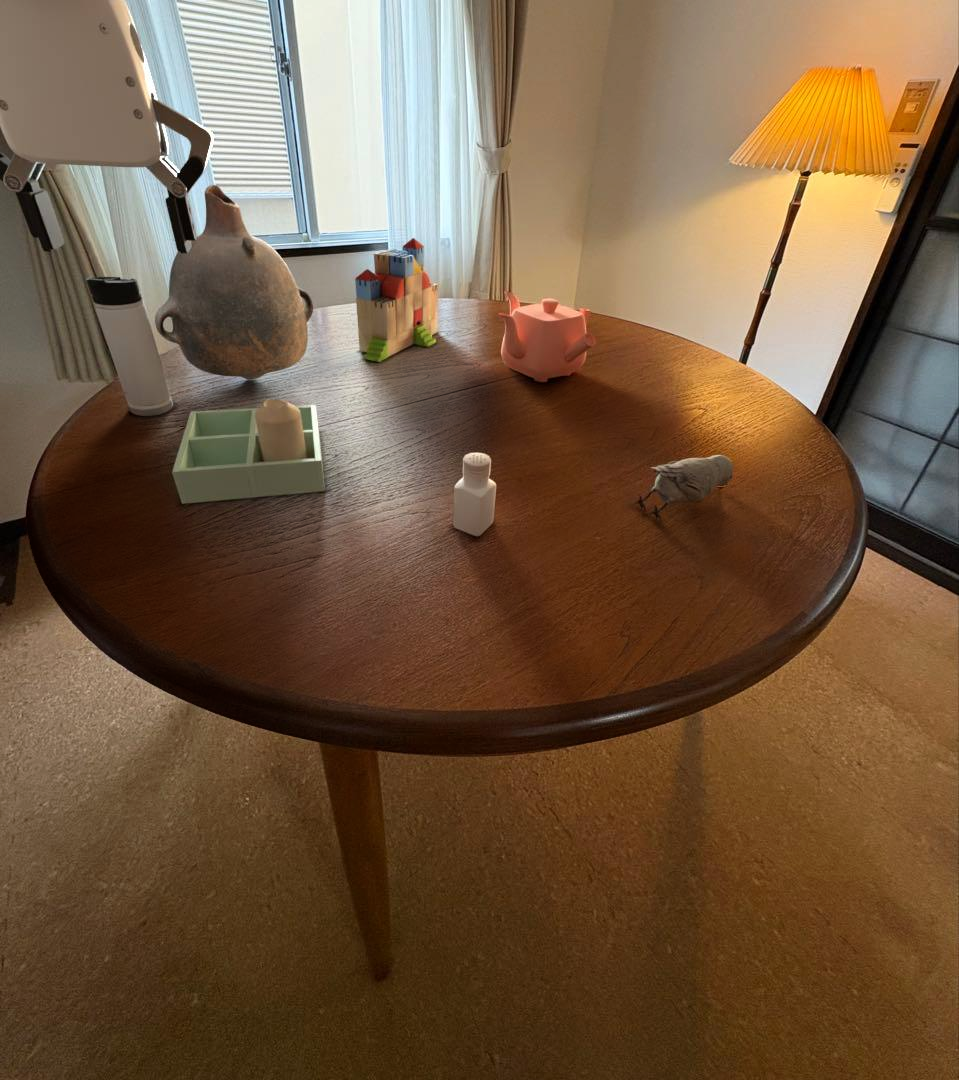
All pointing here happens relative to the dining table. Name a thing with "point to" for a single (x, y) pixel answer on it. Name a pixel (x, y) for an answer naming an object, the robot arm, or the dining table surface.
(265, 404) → the candle
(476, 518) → the salt shaker
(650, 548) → the dining table surface
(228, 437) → the grid
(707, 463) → the decorative bird
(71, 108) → the robot arm
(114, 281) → the travel mug
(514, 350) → the teapot
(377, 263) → the block set
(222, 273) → the jug
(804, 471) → the dining table surface
